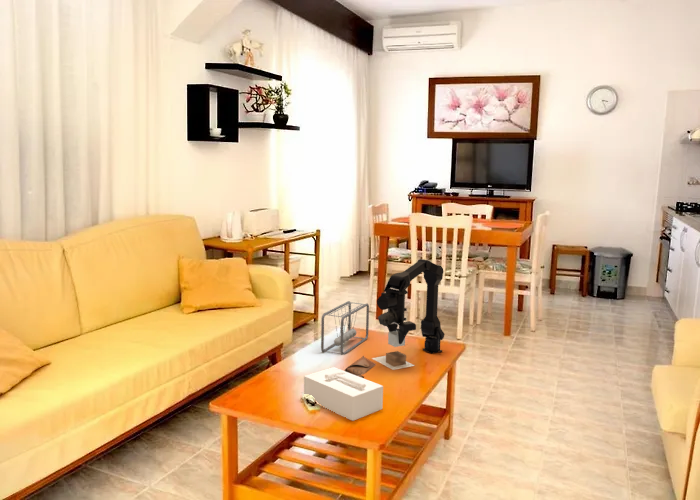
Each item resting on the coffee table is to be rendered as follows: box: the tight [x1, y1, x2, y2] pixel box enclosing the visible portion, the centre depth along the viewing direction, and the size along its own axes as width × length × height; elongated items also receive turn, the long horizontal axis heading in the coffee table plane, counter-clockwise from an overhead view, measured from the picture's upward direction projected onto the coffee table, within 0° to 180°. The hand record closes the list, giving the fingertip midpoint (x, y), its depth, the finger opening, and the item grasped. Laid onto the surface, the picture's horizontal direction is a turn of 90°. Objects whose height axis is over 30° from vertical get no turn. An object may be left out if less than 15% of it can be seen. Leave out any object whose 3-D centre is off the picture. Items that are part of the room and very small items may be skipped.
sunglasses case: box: [344, 355, 377, 379], centre depth 246 cm, size 18×7×7 cm
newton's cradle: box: [320, 300, 370, 356], centre depth 277 cm, size 30×10×18 cm, turn 156°
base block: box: [385, 350, 407, 367], centre depth 252 cm, size 6×6×4 cm
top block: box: [387, 331, 406, 348], centre depth 251 cm, size 5×5×5 cm
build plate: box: [371, 355, 415, 371], centre depth 254 cm, size 11×16×1 cm
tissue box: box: [303, 366, 384, 422], centre depth 212 cm, size 14×25×11 cm, turn 44°
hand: (396, 342), depth 251 cm, fingers closed on top block, 5 cm apart
